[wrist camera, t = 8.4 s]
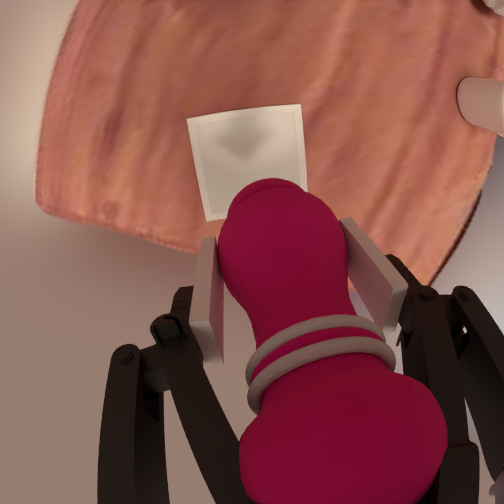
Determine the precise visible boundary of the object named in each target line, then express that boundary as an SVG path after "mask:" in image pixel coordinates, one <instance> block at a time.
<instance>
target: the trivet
mask: <svg viewBox="0 0 504 504" xmlns="http://www.w3.org/2000/svg"><path fill="white" fill-rule="evenodd" d="M187 124H188V130H189V136H190V141H191V147H192V152H193V158H194V163H195V168H196V173H197V178H198V183H199V188H200V193H201V198H202V203H203V208H204V213H205V217H206V221H212V220H218V219H225V218H227V213H228V209H229V207H230V204H231V202H232V200H233V199H234V197H235V196H236V195H237V194H238V193H239V192H240V191H241V190H242V189H243V188H244V187H245V186H247V185H249V184H251V183H252V182H255V181H257V180H261V179H267V178H281V179H285V180H289V181H291V182H293V183H295V184H297V185H298V186H300V187H301V188H302V189H303V190H304V191H306V192H308V190H307V173H306V158H305V145H304V133H303V122H302V112H301V104H292V105H279V106H267V107H258V108H249V109H241V110H234V111H227V112H221V113H215V114H209V115H203V116H198V117H193V118H188V119H187Z"/></svg>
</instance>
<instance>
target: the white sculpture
mask: <svg viewBox="0 0 504 504" xmlns="http://www.w3.org/2000/svg"><path fill="white" fill-rule="evenodd" d="M483 1H484V3H485V4H486V6H487V7H489V8H490V9H492V10H493V11H494V13H496V14H498V15H500V16H503V17H504V0H483Z"/></svg>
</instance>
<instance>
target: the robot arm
mask: <svg viewBox="0 0 504 504" xmlns="http://www.w3.org/2000/svg"><path fill="white" fill-rule="evenodd" d="M339 223H340V225H341V227H342V230H343V232H344V236H345V240H346V244H347V249H348V277H349V278H350V280H351V282H352V283H353V285H354V287H355V289H356V290H357V292H358V294H359V295H360V297H361V299H362V301H363V302H364V304H365V306H366V308H367V309H368V311H369V313H370V315H371V317H372V318H373V320H374V322H375V323H376V324H377V325H378V326H379V328H380V329H381V330H382V331H383V333H384V334H386V333H389V332H393V331H395V330H396V327H397V323H398V322H399V324H400V326H401V327H402V328H401V331H400V334H399V337H398V340H397V343H396V346H398V345H399V343H400V341H401V350H402V362H403V375H406V376H410V377H412V378H414V379H415V380H417V381H419V382H421V383H422V384H424V385H425V386H426V387H427V388H428V389H429V390H430V391H431V393H432V394H433V396H434V398H435V399H436V401H437V402H438V404H439V406H440V408H441V411H442V413H443V415H444V418H445V421H446V426H447V431H448V445H447V449H446V451H445V453H444V456H443V459H442V462H441V464H440V467H439V470H438V472H437V475H436V478H435V480H434V482H433V484H432V485H431V488H430V489H429V490H428V491H427V492H426V494H425V495H424V496H423V497H422V498H421V499H420V500H419V501H417V502H416V503H415V504H478V497H479V450H478V446H477V445H476V444H475V443H473V442H471V441H470V440H469V436H468V423H467V414H466V406H465V400H466V402H467V405H468V408H469V410H470V413H471V416H472V419H473V421H474V425H475V427H476V431H477V434H478V437H479V440H480V444H481V447H482V450H483V455H484V458H485V461H486V465H487V468H488V470H489V472H490V475H491V477H492V479H493V480H494V482H495V484H493V485H492V486H491V487H490V490H489V495H490V496H491V497H495V500H496V501H495V504H504V335H503V333H502V332H501V330H500V329H499V327H498V325H497V324H496V323H495V321H494V319H493V318H492V316H491V315H490V313H489V312H488V311H487V309H486V308H485V306H484V305H483V303H482V302H481V301H480V299H479V298H478V296H477V295H476V294H475V292H474V291H473V290H471V289H470V288H468V287H466V286H457V287H455V288H454V289H453V292H452V294H451V295H439V294H438V292H437V291H436V290H435V289H433V288H432V287H429V286H425V285H421V284H420V283H419V281H418V280H417V279H416V278H415V277H414V275H413V274H412V273H411V272H410V271H408V268H407V267H406V266H404V264H403V263H402V261H401V260H400V259H399V258H397V257H395V256H394V255H392V254H389V255H384V254H383V253H382V252H381V251H380V249H379V248H378V247H377V246H376V245H375V244H374V243H373V241H372V240H371V239H370V238H369V237H368V236H367V235H366V233H365V232H364V231H363V230H362V229H361V228H360V227H359V226H358V225H357V224H356V223H355V221H354V220H353V219H352V218H351V217H350V218H342V219H339ZM223 295H224V280H223V277H222V275H221V273H220V268H219V261H218V247H217V243H216V238H215V236H214V237H208V238H202V241H201V246H200V252H199V258H198V264H197V271H196V276H195V282H194V286H187V287H180V288H179V289H178V291H177V292H176V293H175V294H174V298H173V304H172V307H171V311H170V313H168V314H163V315H161V316H159V317H157V318H156V319H155V320H154V321H153V322H152V324H151V326H150V332H151V333H152V336H153V338H154V339H155V341H156V344H155V345H153V346H150V347H147V348H144V349H141V350H139V348H138V347H137V346H135V345H133V344H126V345H122V346H120V347H119V348H117V349H116V350H115V352H114V353H113V355H112V357H111V362H110V367H109V373H108V379H107V384H106V391H105V398H104V405H103V412H102V421H101V431H100V443H99V456H98V484H97V485H98V490H97V491H98V492H97V493H98V494H97V497H98V504H170V502H169V501H170V500H169V491H168V482H167V470H166V456H165V437H164V393H163V392H164V391H167V390H171V394H172V397H173V400H174V403H175V406H176V409H177V412H178V414H179V418H180V420H181V423H182V426H183V429H184V431H185V434H186V437H187V439H188V442H189V444H190V447H191V449H192V452H193V454H194V457H195V459H196V462H197V464H198V466H199V468H200V471H201V473H202V475H203V478H204V480H205V481H206V484H207V486H208V488H209V491H210V493H211V494H212V497H213V499H214V501H215V503H216V504H259V503H256V502H254V501H253V500H251V499H250V497H249V496H248V494H247V492H246V490H245V487H244V485H243V482H242V480H241V474H240V464H239V446H240V444H239V441H238V439H237V437H236V435H235V434H234V432H233V430H232V428H231V426H230V424H229V422H228V420H227V418H226V416H225V414H224V412H223V410H222V408H221V406H220V403H219V401H218V399H217V397H216V395H215V393H214V391H213V389H212V386H211V384H210V382H209V380H208V378H207V375H206V373H205V371H204V369H203V359H204V361H205V364H206V365H207V366H208V365H219V364H223V363H224V362H223V361H224V360H223V301H224V300H223V299H224V298H223V297H224V296H223ZM464 326H465V328H466V330H467V332H466V334H465V333H464V331H463V328H464ZM464 397H465V399H464Z"/></svg>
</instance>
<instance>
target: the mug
mask: <svg viewBox="0 0 504 504" xmlns="http://www.w3.org/2000/svg"><path fill="white" fill-rule="evenodd" d="M457 100H458V105H459V109H460V111H461V113H462V116H463V117H464V118H465V120H466V121H467V122H469V123H470V124H473V125H475V126H478V127H481V128H485V129H488V130H491V131H494V132H495V133H497V134H498V135H500V136H502V137H504V81H499V80H491V79H483V78H473V77H468V78H464V79H463V80H462V81H461V82H460V84H459V87H458V91H457Z"/></svg>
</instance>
